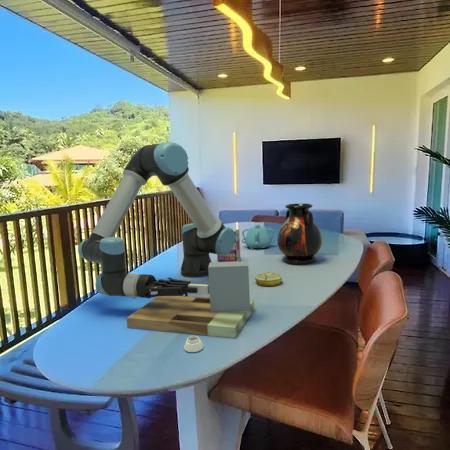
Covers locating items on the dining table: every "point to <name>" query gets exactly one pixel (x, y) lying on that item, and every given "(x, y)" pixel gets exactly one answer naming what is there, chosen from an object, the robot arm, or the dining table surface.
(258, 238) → the decorative pot
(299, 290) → the dining table surface
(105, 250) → the robot arm
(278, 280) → the decorated donut
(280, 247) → the amphora vase
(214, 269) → the grey block
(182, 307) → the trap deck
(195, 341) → the white jar
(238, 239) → the candy bar box
